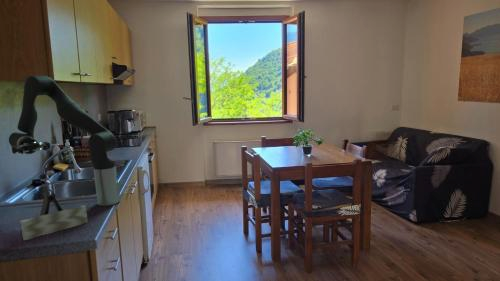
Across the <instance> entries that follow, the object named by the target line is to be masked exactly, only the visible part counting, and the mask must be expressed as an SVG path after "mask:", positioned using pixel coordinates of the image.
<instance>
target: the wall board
mask: <svg viewBox="0 0 500 281" xmlns="http://www.w3.org/2000/svg"><path fill="white" fill-rule="evenodd" d="M87 212H88V211H87V207H86V205H85V204H84V205H83V204H82V205H78V206H75V207H71V208H67V209H62V211H58V212H57V211H55V212H49V213H48V214H46V215H42V216H40V215H38V216H34V217H30V218H26V219H22V220H20V221H19V222H20V228H21V235H22V239H23V241H28V240H31V239H34V238H38V237H41V235H42V236H45V234H46V235H49V234H52V233H55V232H59V231H63V230H66V229H69V228H70V229H71V228H73V227H77V226H80V225H86V224H88V222H89V220H88V213H87Z"/></svg>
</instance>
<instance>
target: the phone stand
mask: <svg viewBox="0 0 500 281" xmlns="http://www.w3.org/2000/svg"><path fill="white" fill-rule="evenodd" d="M48 190H49V191H48ZM48 190H47V189H45V190H44V191H43V196H44V197H43V202H42V207H41V208H40V213H39V216H42V215H46V214H50V212H49V211H50V206H51V203H52V204H53V206H54V208H55V210H56V212H58V211H62V210H63V208H62V207H61V205H60V203H59V202H58V200H57V198H56V194H55V192H54V191H53V190H52V189H50V188H48Z"/></svg>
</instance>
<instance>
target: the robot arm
mask: <svg viewBox="0 0 500 281" xmlns="http://www.w3.org/2000/svg"><path fill="white" fill-rule="evenodd" d="M51 78H52V77H50V76H49V77H48V75H44V74H43V75H37V74H36V75H29V76H28V77H26V79H25V81H24V86H23V96H22V108H21V114H20V116H19V120H18V123H17V126H16V127H17V130H18V131H20V132H17V131H16V132H12V133H10V135H9V137H8V143H9V145H10V147H11V152H12V154H13V155H15V154H17V153H18V154H21V155H23V154H26V155H31V154H35V153H36V152H37V151H38V152H39V151H47V150H49V149H51V144H50V142H48V141H44V142H43V143H42V142H38V141H37V140H36V138H35V136H34V134H35V128H36V127H35V126H36V125H37V121H38V112H37V110H36V105H35V102H36V99H37V97H38V96H47V97H48V98H50V99H51V100H52V101H53V102H54V103H55V106H56V112H57V114H58V116H59V117H60V118H61V119H62V120H63V121H64V122H65V123H67V124H68V125H69V126H72V127H73V128H76V129H77V130H80V131H83V132H85V133H87V134H89V135H90V136H89V137H88V141H87V146H88V152H89V157H90V162H91V164H92V166H93V175H94V176H93V177H94V184H95V192H96V201H97V205H98V206H100V207H108V206H113V205H116V204H117V203H121V193H120V184H119V181H118V180H117V170H116V163H115V159H113V158H109V157H108V154H107V153H108V152H110V151H111V152H112V151H113V150H115V149H116V148H117V146H118V140H117V137H116V135H114V133H112V132H111V131H110V130H109V129H107V128H106V127H105V126H103V125H102V124H101V123H99V122H98V121H97V120H96V119H94V118H93V117H92V116H91V115H90V114H89V113H87V112H86V111H85V110H84V109H83V108H82V106H80V105H79V104H78V103H77V102H75V101H74V100H73V99H72V98H71V97H70V96H69V95H68V94H67V93H66V92H65V91H64V90H63V89H62V88H61V87H60V85H59V84H57V83H56V81H55V80H54V79H53V78H52V79H51Z"/></svg>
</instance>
